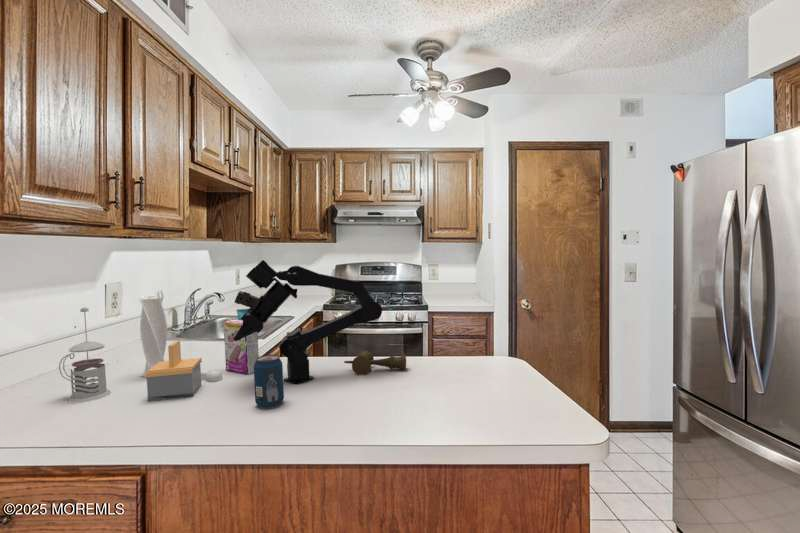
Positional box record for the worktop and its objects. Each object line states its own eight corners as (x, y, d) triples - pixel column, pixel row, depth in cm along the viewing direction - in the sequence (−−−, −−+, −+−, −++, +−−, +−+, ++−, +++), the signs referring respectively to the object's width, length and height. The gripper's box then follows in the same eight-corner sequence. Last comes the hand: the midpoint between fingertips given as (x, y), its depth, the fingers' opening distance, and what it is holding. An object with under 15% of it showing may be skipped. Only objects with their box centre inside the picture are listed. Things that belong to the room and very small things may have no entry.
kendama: (405, 376, 126) (340, 375, 127) (406, 368, 136) (346, 367, 137) (405, 356, 126) (340, 356, 127) (406, 350, 135) (346, 349, 137)
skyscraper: (177, 374, 135) (172, 289, 134) (152, 381, 128) (147, 291, 127) (161, 371, 139) (156, 288, 138) (136, 378, 132) (131, 291, 131)
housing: (201, 385, 122) (200, 361, 122) (193, 396, 112) (191, 371, 112) (160, 389, 119) (158, 365, 119) (148, 401, 110) (146, 375, 109)
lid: (201, 361, 123) (200, 337, 122) (192, 373, 111) (190, 345, 111) (160, 365, 120) (159, 340, 120) (146, 377, 108) (144, 349, 108)
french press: (99, 400, 111) (93, 308, 110) (51, 404, 110) (45, 311, 109) (118, 388, 121) (113, 304, 120) (74, 392, 119) (68, 306, 118)
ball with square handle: (225, 378, 128) (225, 370, 128) (215, 382, 124) (214, 374, 124) (206, 376, 131) (205, 368, 131) (195, 380, 126) (195, 372, 126)
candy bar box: (224, 371, 136) (222, 321, 136) (237, 367, 140) (235, 319, 140) (247, 375, 130) (245, 323, 130) (260, 371, 135) (257, 321, 134)
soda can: (270, 398, 109) (267, 353, 108) (290, 401, 106) (287, 355, 105) (249, 407, 103) (247, 359, 102) (269, 411, 100) (267, 362, 99)
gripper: (254, 279, 129) (218, 316, 127) (247, 283, 111) (205, 327, 108) (282, 302, 131) (246, 340, 129) (279, 310, 113) (238, 354, 111)
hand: (234, 339), depth 119 cm, fingers closed
